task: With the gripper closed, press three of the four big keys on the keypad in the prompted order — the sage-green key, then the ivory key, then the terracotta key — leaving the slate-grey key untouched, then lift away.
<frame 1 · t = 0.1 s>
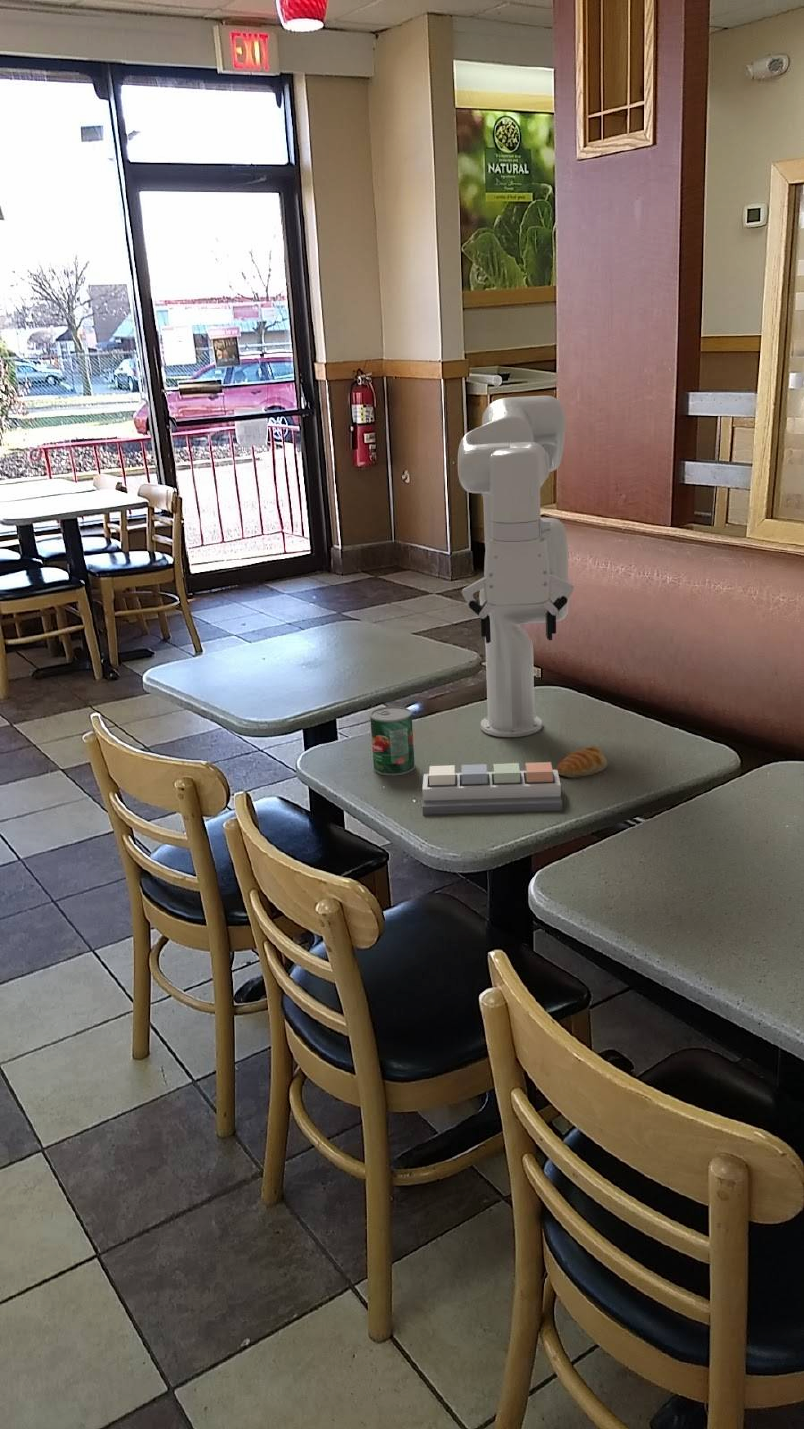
hand: (518, 639, 174), 31 cm above the table, tool pointing down, fingers open, 9 cm apart
sage key: (506, 773, 191), point 5 cm above the table, slide at 0.0 cm
keypad: (491, 798, 193), on the table
pastry: (582, 771, 203), on the table
slate key: (474, 774, 192), point 5 cm above the table, slide at 0.0 cm
terracotta key: (539, 772, 191), point 5 cm above the table, slide at 0.0 cm
canned tomato: (394, 768, 209), on the table
ivory key: (442, 775, 192), point 5 cm above the table, slide at 0.0 cm
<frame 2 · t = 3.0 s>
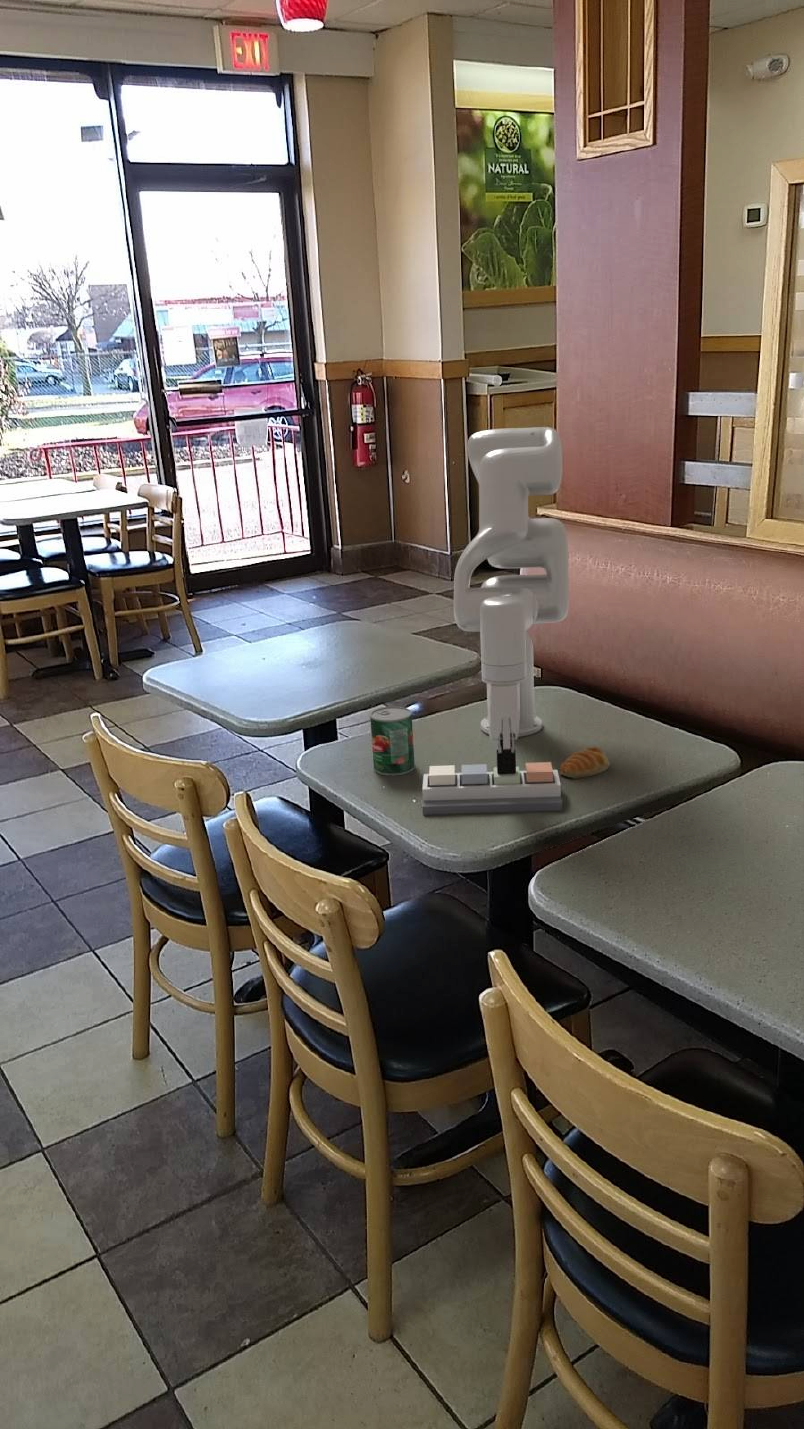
hand: (506, 772, 191), 5 cm above the table, tool pointing down, fingers closed
sage key: (506, 776, 191), point 4 cm above the table, slide at 0.7 cm, touching gripper
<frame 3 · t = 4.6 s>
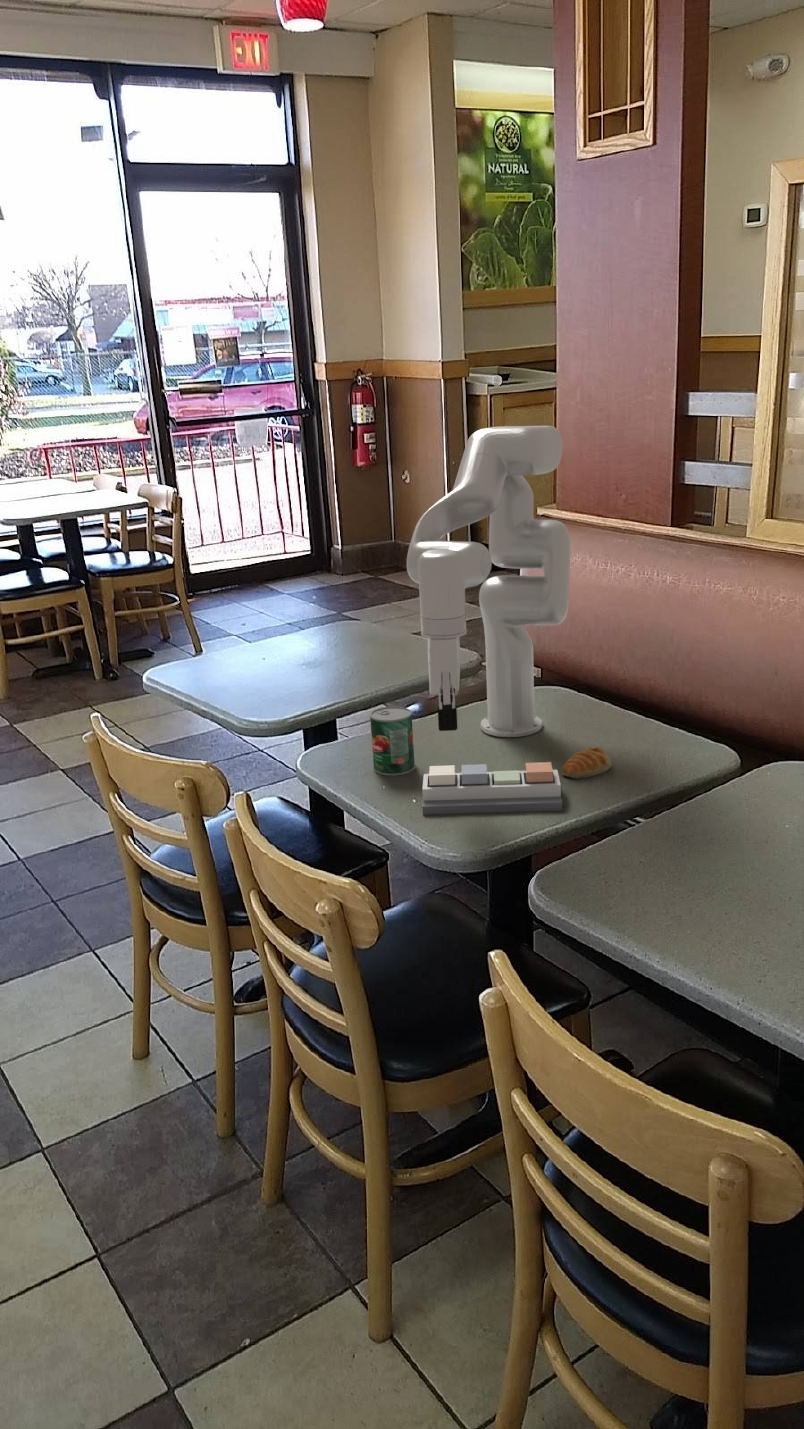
hand: (448, 728, 189), 13 cm above the table, tool pointing down, fingers closed
sage key: (506, 780, 192), point 3 cm above the table, slide at 1.4 cm
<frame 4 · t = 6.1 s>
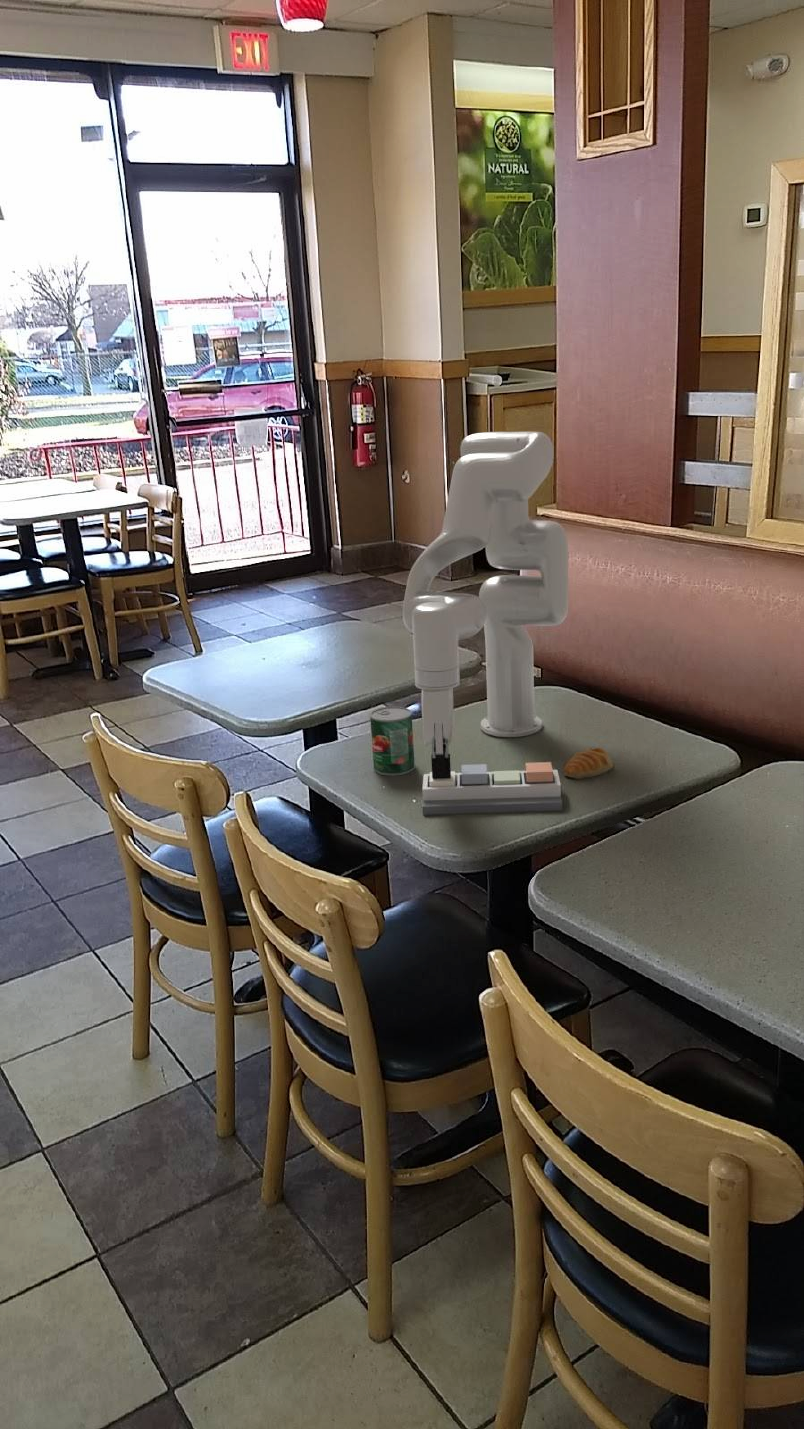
hand: (441, 776, 192), 5 cm above the table, tool pointing down, fingers closed
ivory key: (442, 781, 192), point 4 cm above the table, slide at 1.1 cm, touching gripper
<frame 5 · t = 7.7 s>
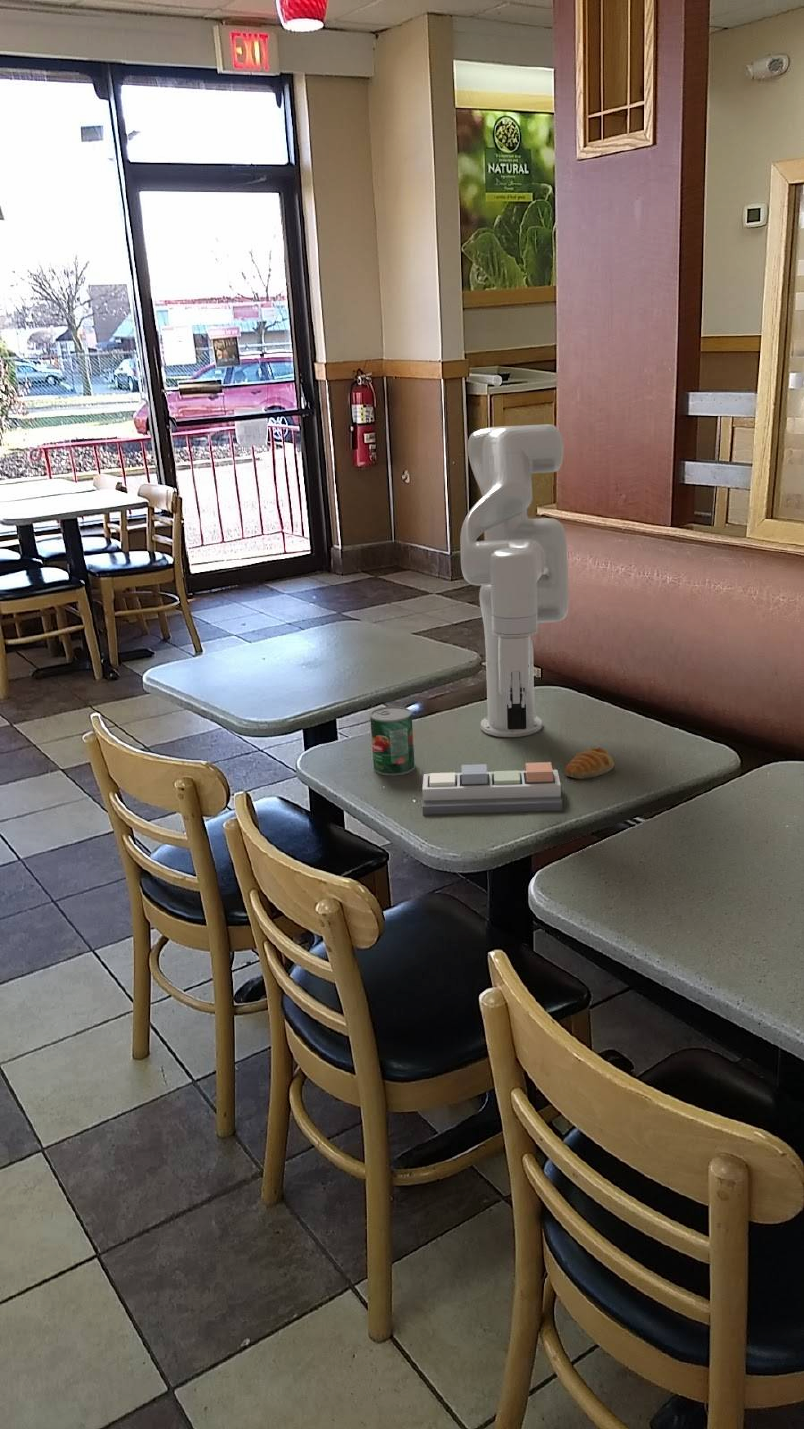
hand: (517, 727, 188), 13 cm above the table, tool pointing down, fingers closed
ivory key: (442, 782, 192), point 3 cm above the table, slide at 1.4 cm
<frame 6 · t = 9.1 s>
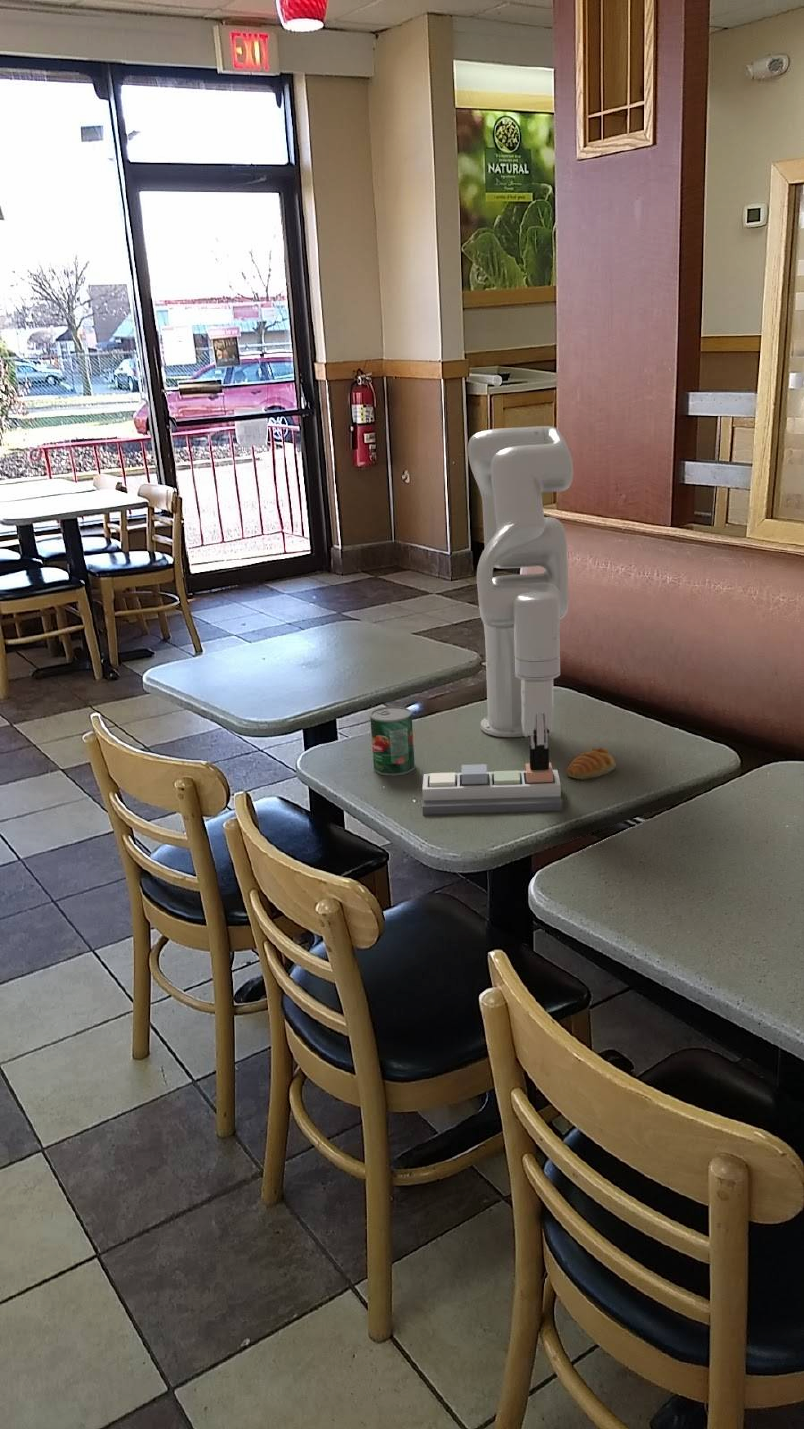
hand: (539, 768, 190), 6 cm above the table, tool pointing down, fingers closed
terracotta key: (539, 772, 191), point 5 cm above the table, slide at 0.1 cm, touching gripper
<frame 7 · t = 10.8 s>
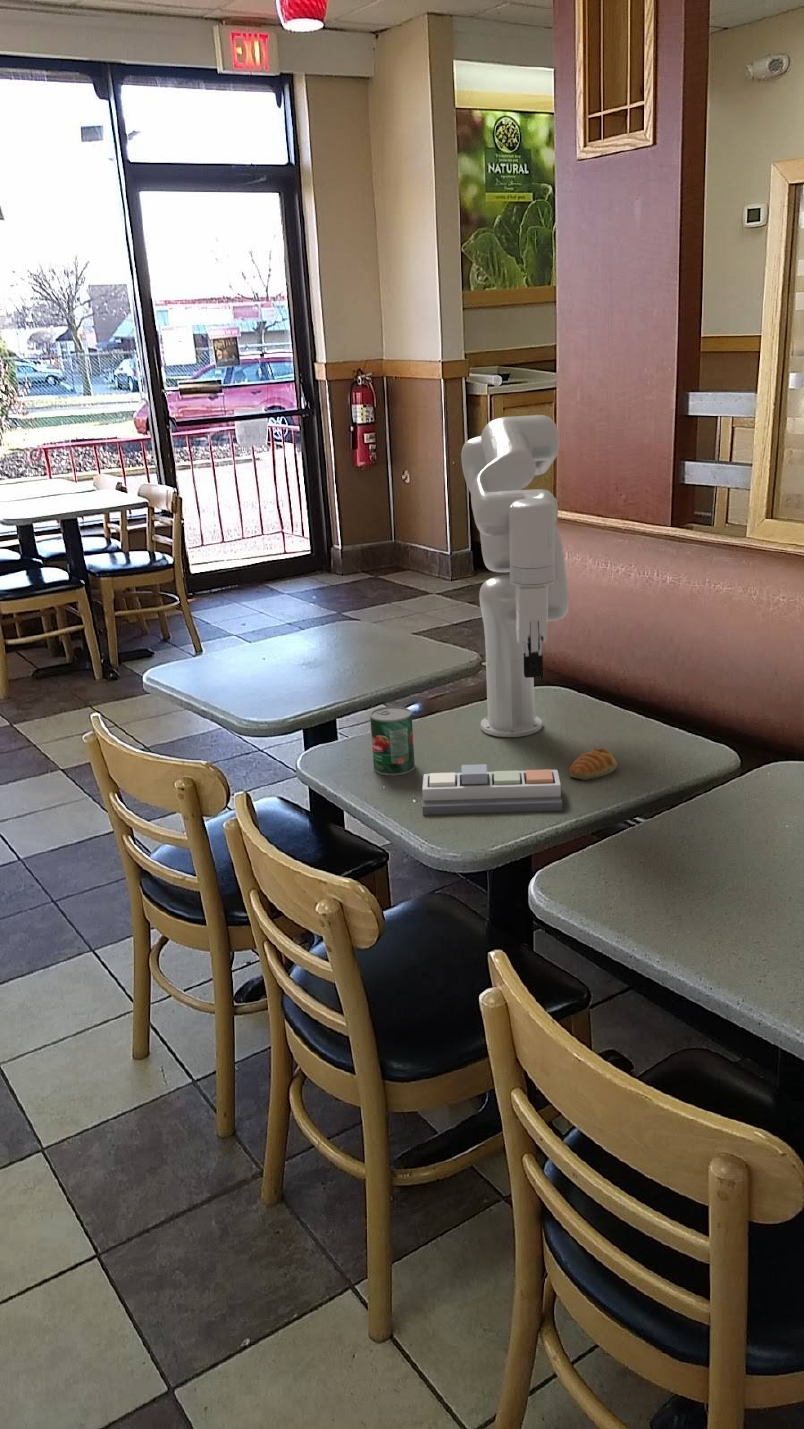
hand: (533, 675, 192), 20 cm above the table, tool pointing down, fingers closed
terracotta key: (539, 779, 191), point 3 cm above the table, slide at 1.4 cm
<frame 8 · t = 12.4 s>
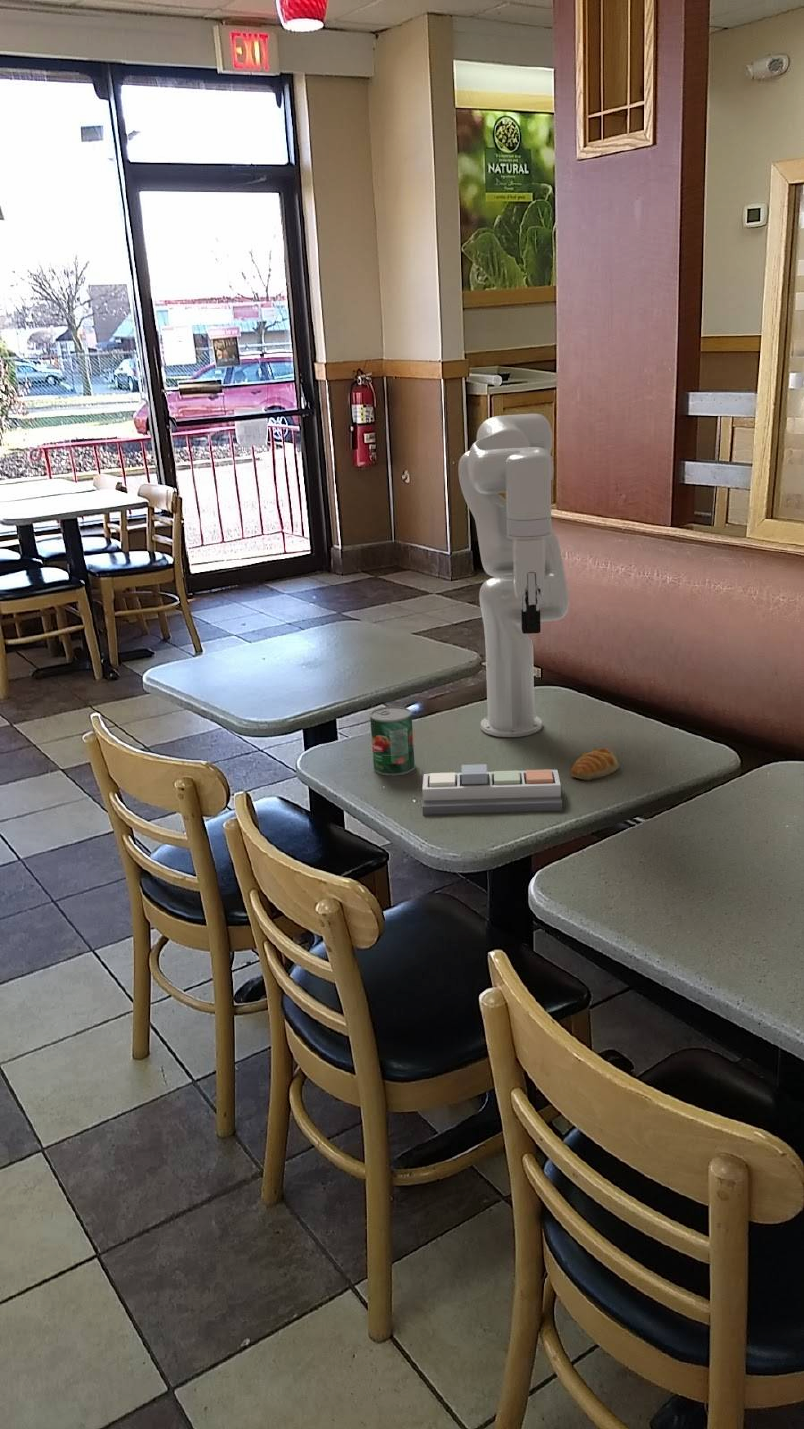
hand: (531, 632, 193), 27 cm above the table, tool pointing down, fingers closed
at the end: sage key slide at 1.4 cm; terracotta key slide at 1.4 cm; slate key slide at 0.0 cm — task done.
